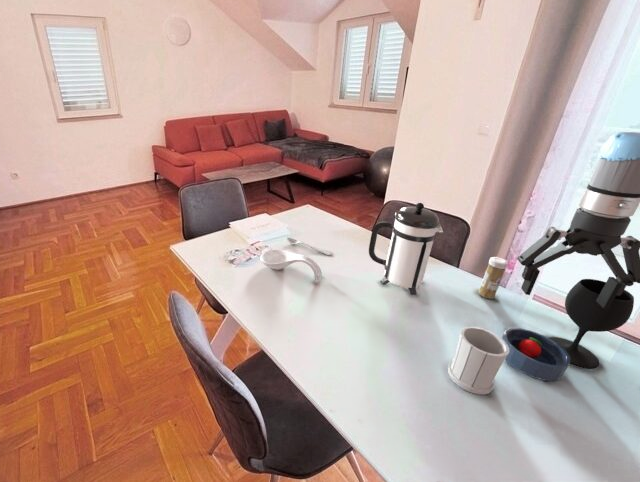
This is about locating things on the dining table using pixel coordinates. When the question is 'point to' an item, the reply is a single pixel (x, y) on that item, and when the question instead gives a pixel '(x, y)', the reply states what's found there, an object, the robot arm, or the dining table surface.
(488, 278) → the sprinkles bottle
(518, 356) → the bowl
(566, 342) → the wine glass
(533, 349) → the strawberry
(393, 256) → the coffee press
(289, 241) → the spoon
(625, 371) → the dining table surface
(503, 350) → the cup
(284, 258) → the spoon rest
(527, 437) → the dining table surface
